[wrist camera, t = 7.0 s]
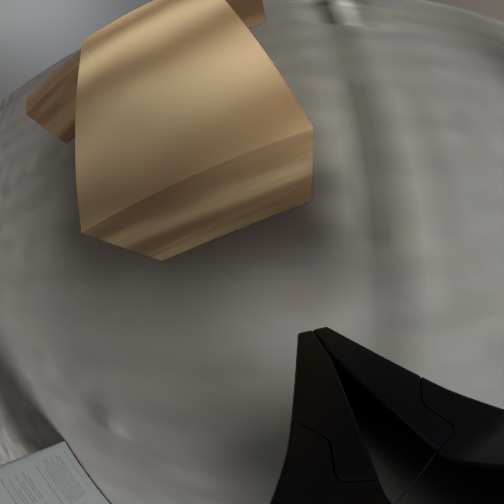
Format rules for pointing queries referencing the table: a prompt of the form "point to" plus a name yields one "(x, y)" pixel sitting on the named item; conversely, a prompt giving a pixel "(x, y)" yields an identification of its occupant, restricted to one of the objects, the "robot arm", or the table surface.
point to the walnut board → (66, 78)
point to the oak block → (184, 130)
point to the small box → (47, 479)
